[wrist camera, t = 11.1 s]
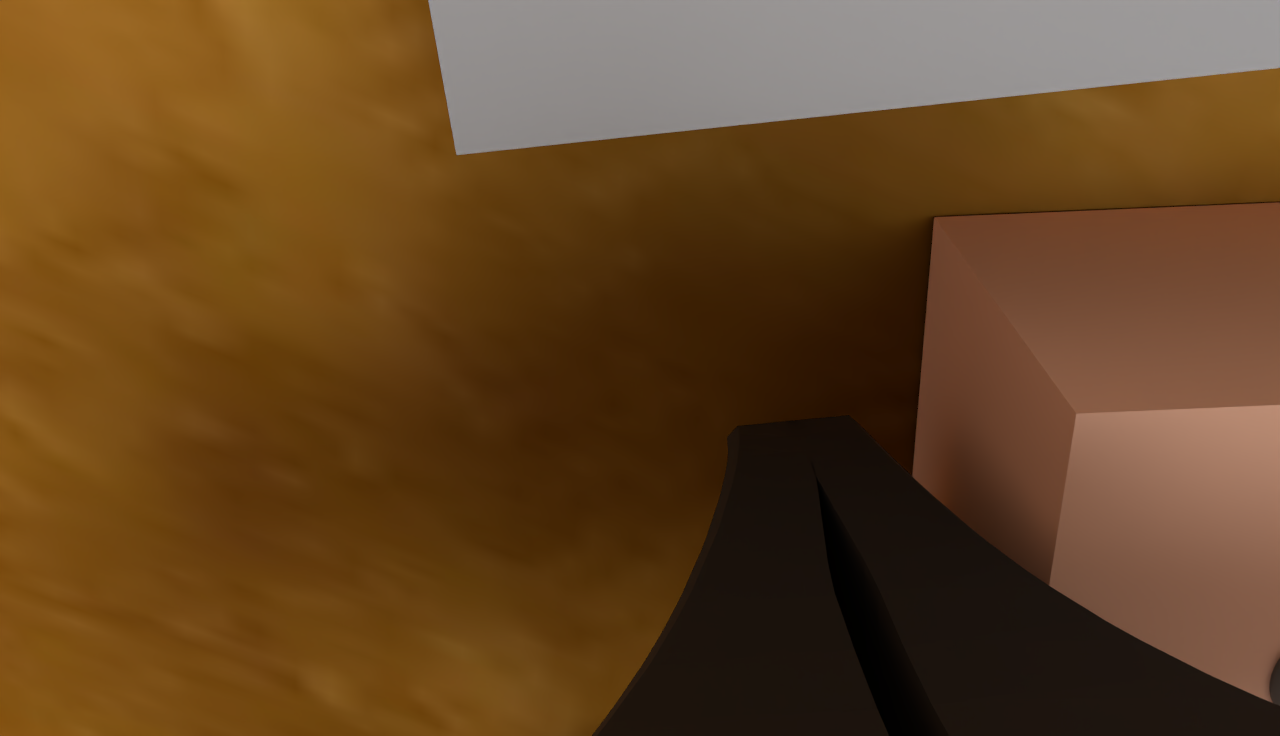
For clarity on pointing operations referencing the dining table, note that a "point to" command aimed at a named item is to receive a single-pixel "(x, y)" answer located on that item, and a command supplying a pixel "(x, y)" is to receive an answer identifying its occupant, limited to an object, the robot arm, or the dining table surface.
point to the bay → (805, 58)
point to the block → (1118, 416)
